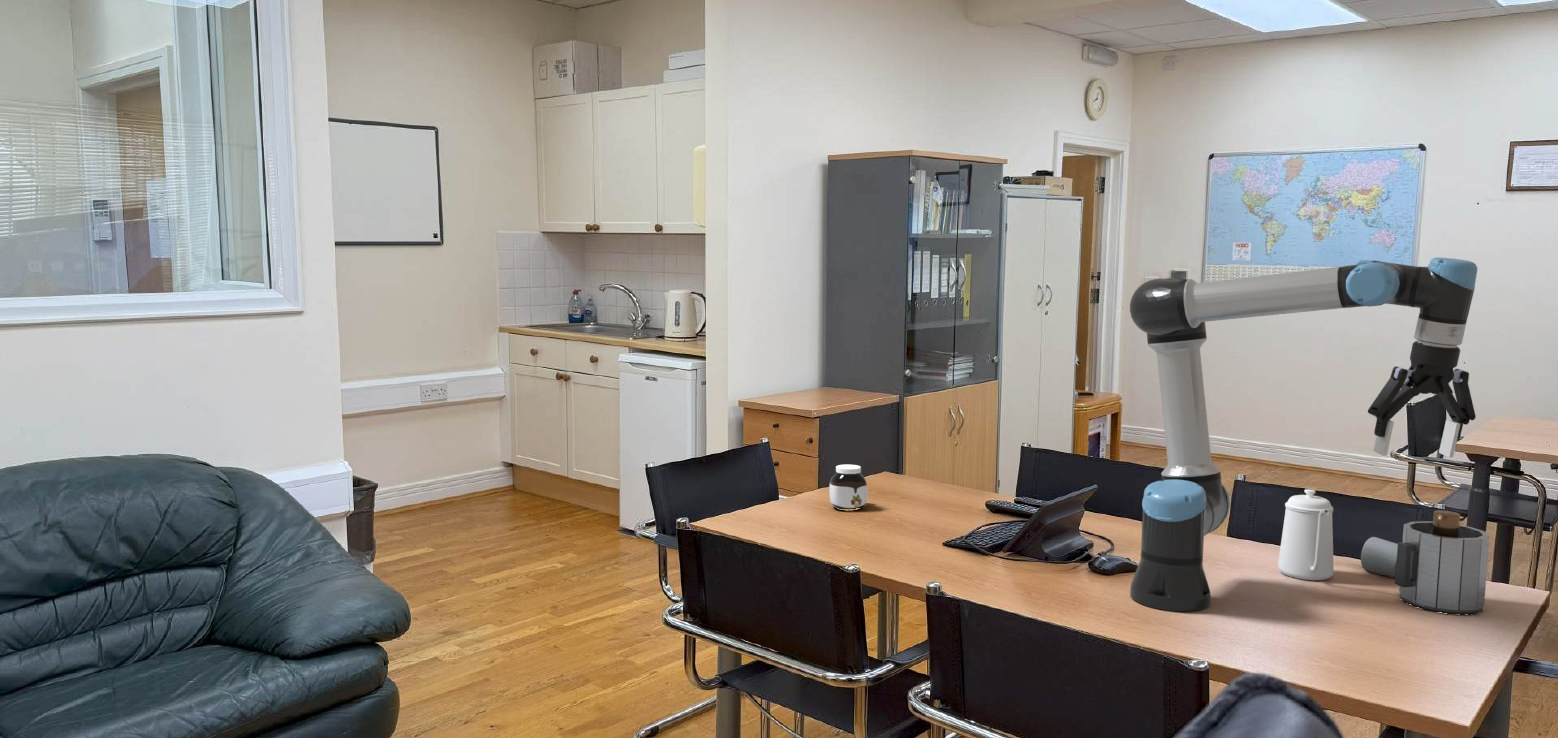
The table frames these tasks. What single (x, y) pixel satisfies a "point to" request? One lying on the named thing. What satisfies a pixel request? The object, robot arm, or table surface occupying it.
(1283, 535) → the coffeepot
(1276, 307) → the robot arm
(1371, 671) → the table surface
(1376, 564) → the ceramic mug
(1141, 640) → the table surface
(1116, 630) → the table surface
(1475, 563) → the grey panelled tankard
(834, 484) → the spread jar
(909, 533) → the table surface
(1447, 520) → the plunger
